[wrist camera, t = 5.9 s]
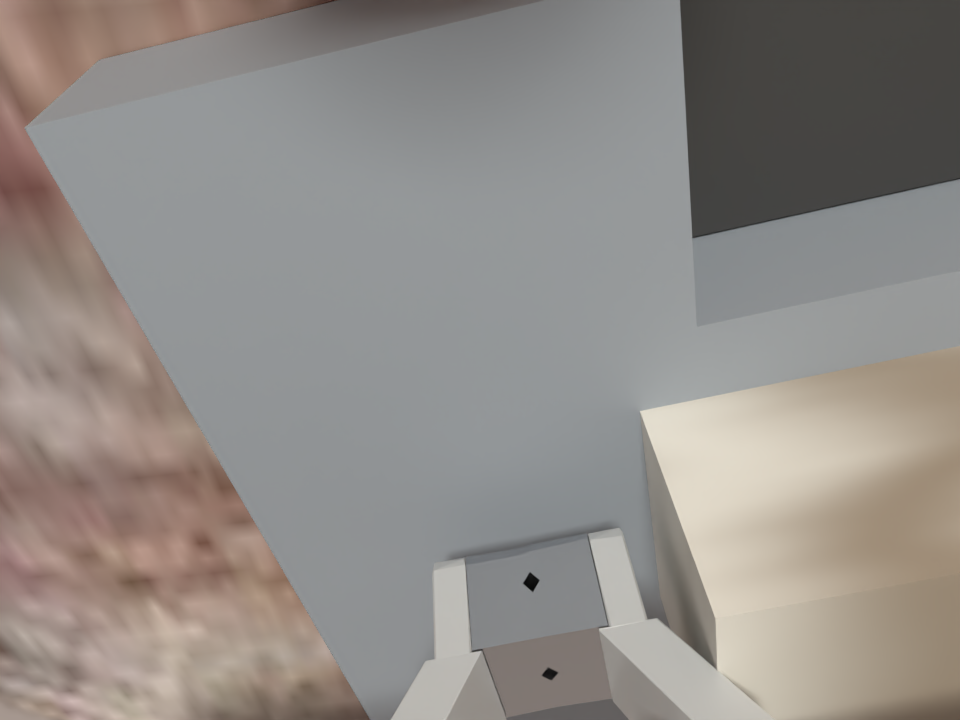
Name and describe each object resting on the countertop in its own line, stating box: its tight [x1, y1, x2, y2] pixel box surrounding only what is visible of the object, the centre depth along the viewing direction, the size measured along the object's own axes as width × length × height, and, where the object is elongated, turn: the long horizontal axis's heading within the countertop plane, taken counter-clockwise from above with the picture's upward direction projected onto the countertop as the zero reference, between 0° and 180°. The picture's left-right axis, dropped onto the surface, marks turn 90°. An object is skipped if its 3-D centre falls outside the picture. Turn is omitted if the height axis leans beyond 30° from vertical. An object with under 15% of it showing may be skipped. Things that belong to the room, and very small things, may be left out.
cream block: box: [640, 346, 960, 720], centre depth 11 cm, size 6×4×4 cm
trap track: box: [25, 0, 960, 720], centre depth 13 cm, size 21×16×4 cm
